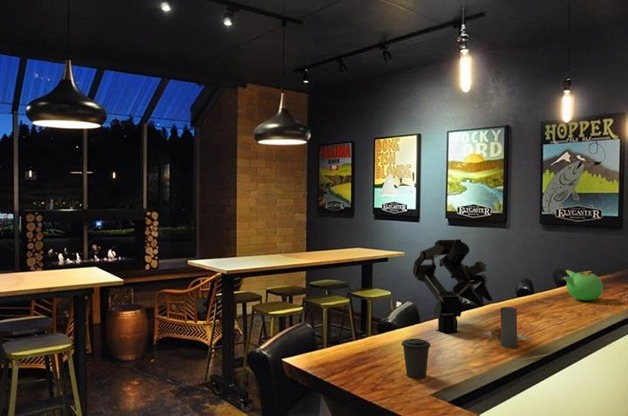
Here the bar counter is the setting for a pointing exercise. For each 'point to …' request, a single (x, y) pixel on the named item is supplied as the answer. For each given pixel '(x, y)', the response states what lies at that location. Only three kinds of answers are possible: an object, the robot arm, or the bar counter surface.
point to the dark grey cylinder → (509, 327)
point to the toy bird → (584, 285)
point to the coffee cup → (416, 357)
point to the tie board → (520, 337)
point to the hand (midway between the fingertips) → (486, 302)
